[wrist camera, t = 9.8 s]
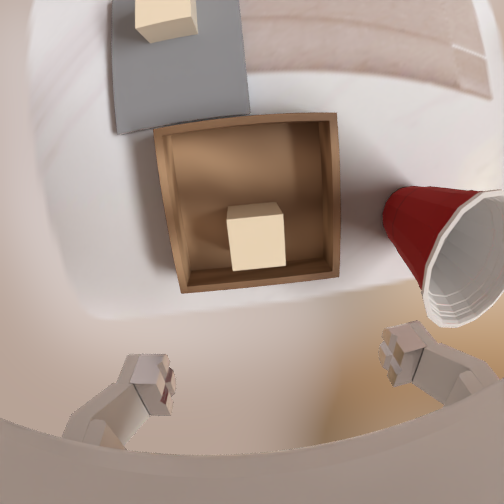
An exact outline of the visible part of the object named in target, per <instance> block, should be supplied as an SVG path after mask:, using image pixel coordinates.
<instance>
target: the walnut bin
mask: <svg viewBox="0 0 504 504" xmlns="http://www.w3.org/2000/svg"><path fill="white" fill-rule="evenodd" d="M153 133H154V142H155V150H156V157H157V165H158V172H159V179H160V185H161V192H162V198H163V204H164V210H165V216H166V221H167V227H168V232H169V238H170V243H171V248H172V253H173V258H174V263H175V267H176V272H177V277H178V281H179V286H180V290H181V294H183V293H195V292H206V291H217V290H228V289H238V288H248V287H258V286H267V285H277V284H285V283H294V282H303V281H311V280H319V279H327V278H335V277H339V268H340V229H341V199H340V161H339V140H338V125H337V113H285V114H266V115H253V116H241V117H231V118H222V119H214V120H206V121H199V122H192V123H186V124H179V125H173V126H168V127H162V128H157V129H153ZM269 202H276V203H277V205H278V206H279V208H280V210H281V211H282V213H283V220H284V238H285V258H286V266H278V267H268V268H259V269H249V270H239V271H233V269H232V261H231V253H230V245H229V237H228V229H227V220H226V219H227V211H228V206H238V205H248V204H258V203H269Z"/></svg>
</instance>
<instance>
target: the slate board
mask: <svg viewBox="0 0 504 504" xmlns="http://www.w3.org/2000/svg"><path fill="white" fill-rule="evenodd" d="M196 9H197V24H198V34H196V35H190V36H184V37H178V38H173V39H168V40H163V41H159V42H154V43H149V42H148V41H147V40H146V39H145V38H144V37H143V36H142V35H141V34H140V33H139V32H138V31H137V30H136V29H135V0H112V75H113V92H114V105H115V116H116V126H117V134H118V135H120V134H126V133H130V132H135V131H139V130H144V129H149V128H154V127H159V126H164V125H170V124H176V123H182V122H188V121H194V120H201V119H209V118H217V117H225V116H235V115H245V114H250V104H249V94H248V83H247V73H246V63H245V54H244V44H243V34H242V25H241V16H240V6H239V0H196Z"/></svg>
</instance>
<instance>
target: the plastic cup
mask: <svg viewBox="0 0 504 504" xmlns="http://www.w3.org/2000/svg"><path fill="white" fill-rule="evenodd" d="M383 226H384V228H385V231H386V233H387V235H388V238H389V239H390V240H391V242H392V243H393V244H394V246H395V247H396V249H397V251H398V253H399V254H400V256H401V257H402V259H403V260H404V262H405V263H406V265H407V266H408V268H409V269H410V271H411V272H412V274H413V275H414V277H415V278H416V280H417V282H418V284H419V287H420V289H421V290H422V291H421V294H422V297H423V301H424V305H425V309H426V313H427V316H428V318H429V319H431V320H432V321H433V322H434V323H436V324H437V325H438V326H439V327H455V328H456V327H459V326H461V325H464V324H467V323H469V322H471V321H474V320H476V319H477V318H478V317H479V316H481V315H482V314H483V313H484V312H485V311H487V310H488V309H489V308H490V307H491V306H492V305H494V303H495V302H496V301H497V300H498V298H499V297H500V296H501V295H502V293H503V292H504V190H499V189H497V190H490V191H473V190H469V191H466V190H458V189H449V188H440V187H431V186H430V187H418V186H411V187H404V188H400V189H399V190H397V191H396V192H394V193H393V194H392V195H391V196H390V198H389V199H388V200H387V202H386V204H385V207H384V210H383Z"/></svg>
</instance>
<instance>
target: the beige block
mask: <svg viewBox="0 0 504 504" xmlns="http://www.w3.org/2000/svg"><path fill="white" fill-rule="evenodd" d="M226 220H227V229H228V237H229V245H230V253H231V261H232V269H233V271H239V270H249V269H259V268H268V267H278V266H286V258H285V238H284V220H283V213H282V211H281V210H280V208H279V206H278V205H277V203H276V202H269V203H258V204H248V205H238V206H228V211H227V219H226Z"/></svg>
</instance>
